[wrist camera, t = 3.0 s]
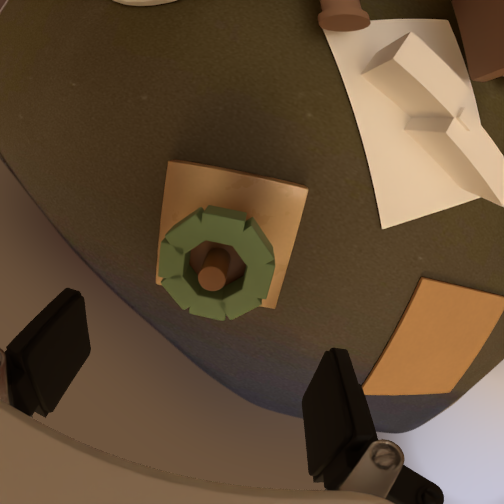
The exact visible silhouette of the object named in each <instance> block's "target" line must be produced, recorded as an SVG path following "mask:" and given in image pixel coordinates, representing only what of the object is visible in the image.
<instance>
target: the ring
mask: <svg viewBox="0 0 504 504" xmlns="http://www.w3.org/2000/svg"><path fill="white" fill-rule="evenodd" d="M246 216H247V213H246V212H242V211H237V210H232V209H227V208H222V207H217V206H212V205H208V206H207V208H206V209H205V210H204V209H203V208H202V207H200V208H198V209H197V210H195V211H194V212H192V213H191V214H189V215H188V216H186V217H185V218H184V219H182V220H181V221H179V222H178V223H176V224H175V225H174V226H172V228H171V229H170V230H169V231H168V232H167V233H166V234H165V238H164V239H163V240H162V241H161V245H160V257H159V270H158V276H159V277H162V278H163V279H162V281H161V284H162V286H163V287H164V288H165V289H166V290H167V292H168V293H169V294H170V295H171V296H172V298H173V299H174V300H175V301H176V302H177V303H178V305H179V306H180V307H181V308H182V309H183V310H184V309H186V308H188V307H189V313H190V314H194V315H199V316H203V317H208V318H212V319H217V320H222V321H224V320H225V317H226V315H227V316H228V317H229V319H230V320H233V319H235V318H236V317H238V316H240V315H242V314H244V313H246V312H248V311H250V310H252V309H254V308H256V307H258V306H260V305H261V304H262V299H267V295H268V292H269V288H270V285H271V281H272V277H273V274H274V270H275V255H274V250H273V246H272V244H271V243H270V241H269V240H268V238H267V237H266V235H265V234H264V232H263V231H262V229H261V228H260V226H259V225H258V223H257V222H256V220H255V219H254V218H253V217H251V218H249V219H248V220H246ZM206 240H207V241H212V242H217V243H221V244H226V245H231V246H233V247H234V249H235V250H236V252H237V253H238V254H239V256H240V257H241V259H242V260H243V261H244V263H245V264H246V268H245V272H244V276H242V277H240V278H239V279H237V280H235V281H233V282H232V283H230V284H228V285H226V286H223V287H222V288H221V289H219V290H217V291H209V290H206V289H204V288H203V287H202V286H201V285H200V283H199V281H198V275H197V273H196V272H195V271H194V270H193V268H192V267H191V266H190V265H189V261H190V253H191V250H192V249H193V248H195V247H196V246H198V245H199V244H201V243H203V242H204V241H206Z"/></svg>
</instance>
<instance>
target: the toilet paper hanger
mask: <svg viewBox="0 0 504 504" xmlns="http://www.w3.org/2000/svg"><path fill="white" fill-rule="evenodd" d="M451 2H452V5H453V9H454V12H455V15H456V18H457V22H458V25H459V29H460V33H461V37H462V41H463V45H464V50H465V55H466V59H467V65H468V70H469V75H470V78H471V79H472V80H474V81H479V82H486V81H489V80H492V79H495V78H498V77H501V76H504V0H451ZM320 4H321V9H322V12H321V13H320V14H319V15H318V22H319V26H320V27H321V28H323V29H326V30H329V31H337V32H348V31H357V30H361V29H364V28H366V27H368V26H369V25H370V24H371V22H370V18H369V15H368V13H367V12H365V11H363V10H362V8H361V4H360V0H320Z"/></svg>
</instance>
